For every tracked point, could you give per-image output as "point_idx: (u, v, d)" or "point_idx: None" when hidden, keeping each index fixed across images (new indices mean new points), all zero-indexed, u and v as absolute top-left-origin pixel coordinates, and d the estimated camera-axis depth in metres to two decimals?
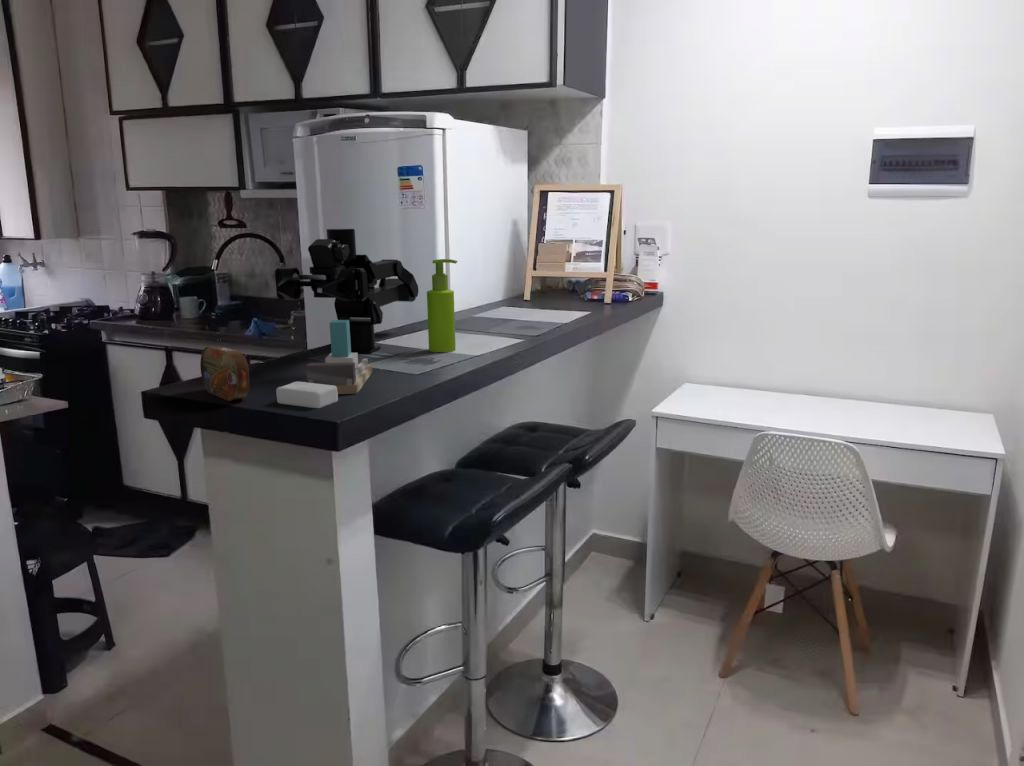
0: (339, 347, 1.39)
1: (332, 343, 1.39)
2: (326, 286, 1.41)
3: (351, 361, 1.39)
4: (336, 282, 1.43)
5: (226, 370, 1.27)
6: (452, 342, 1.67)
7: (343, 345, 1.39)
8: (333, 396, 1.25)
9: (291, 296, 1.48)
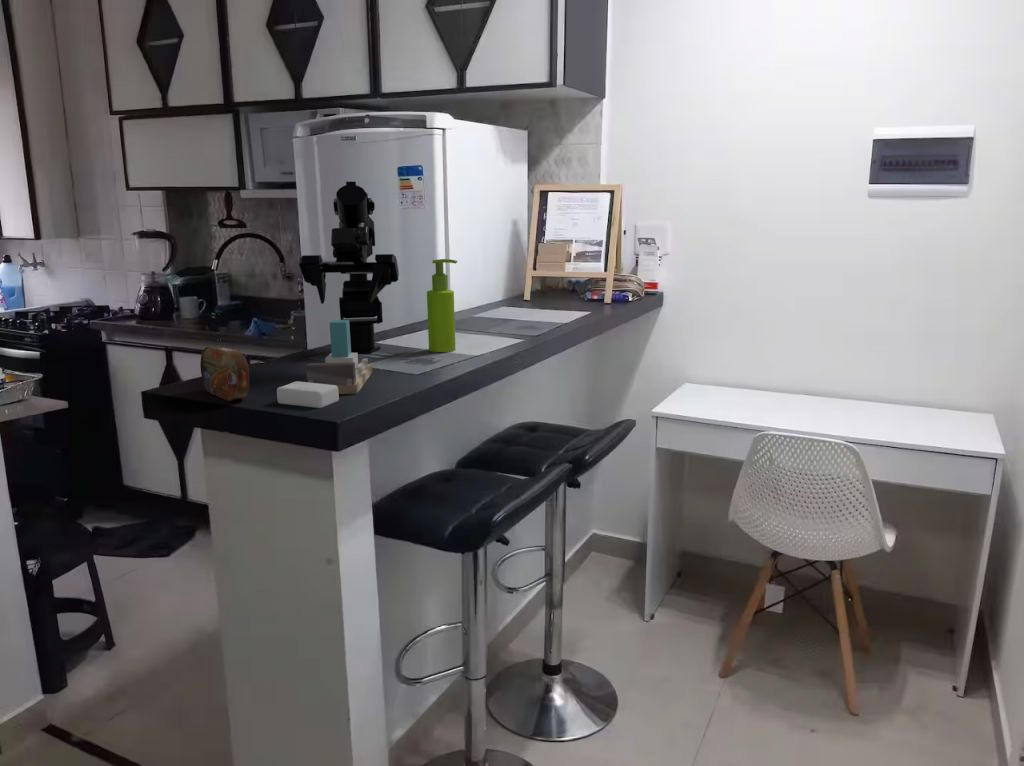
0: (339, 347, 1.39)
1: (332, 343, 1.39)
2: (371, 296, 1.46)
3: (351, 361, 1.39)
4: (376, 284, 1.47)
5: (226, 370, 1.27)
6: (452, 342, 1.67)
7: (343, 345, 1.39)
8: (334, 396, 1.26)
9: (325, 288, 1.50)
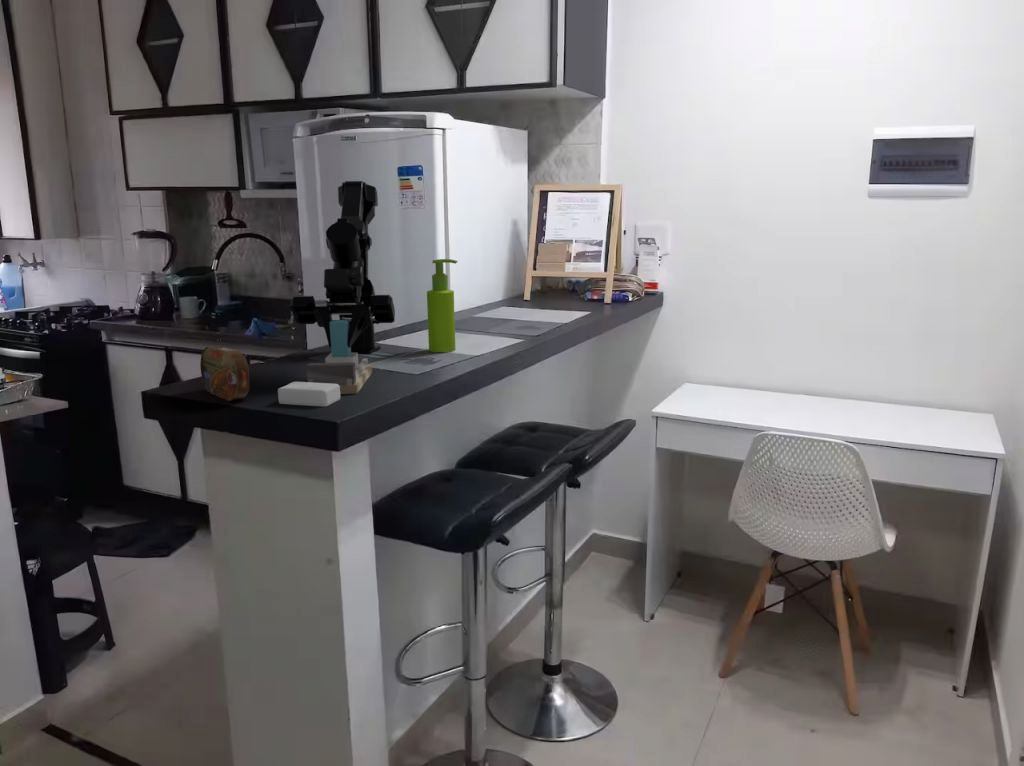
0: (339, 347, 1.39)
1: (332, 343, 1.39)
2: (350, 341, 1.39)
3: (351, 361, 1.39)
4: (355, 328, 1.40)
5: (226, 370, 1.27)
6: (452, 342, 1.67)
7: (343, 345, 1.39)
8: (337, 394, 1.26)
9: None
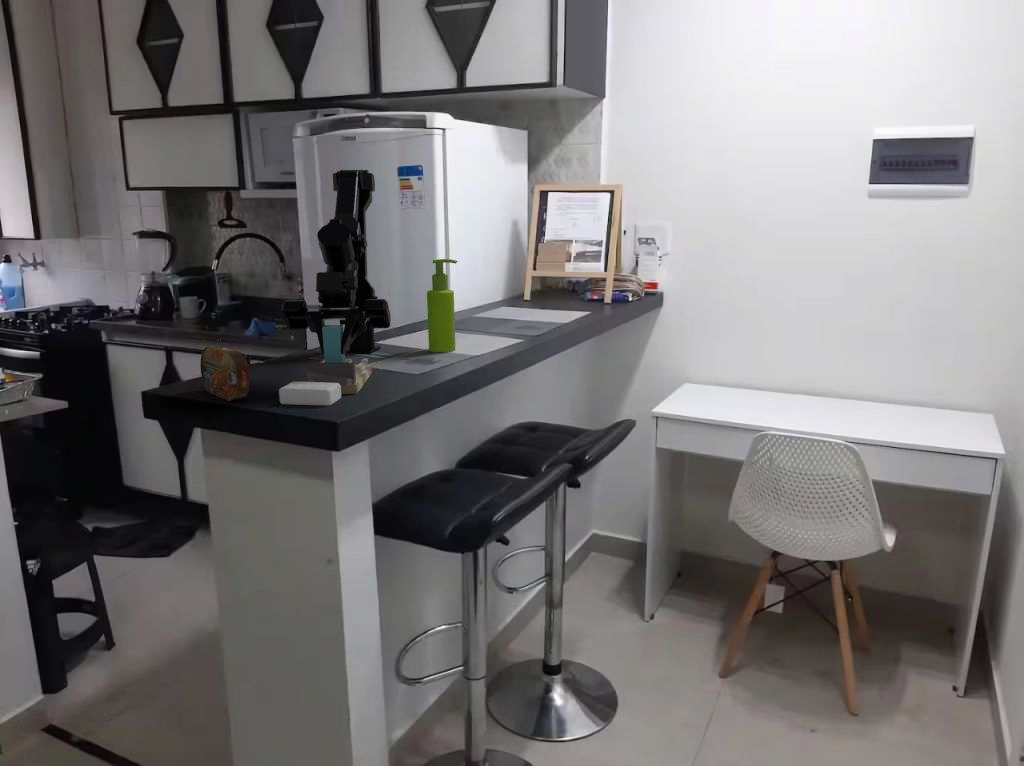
0: (332, 354, 1.33)
1: (325, 349, 1.33)
2: (344, 347, 1.33)
3: None
4: (349, 333, 1.34)
5: (226, 370, 1.27)
6: (452, 342, 1.67)
7: (337, 352, 1.33)
8: (338, 393, 1.27)
9: None
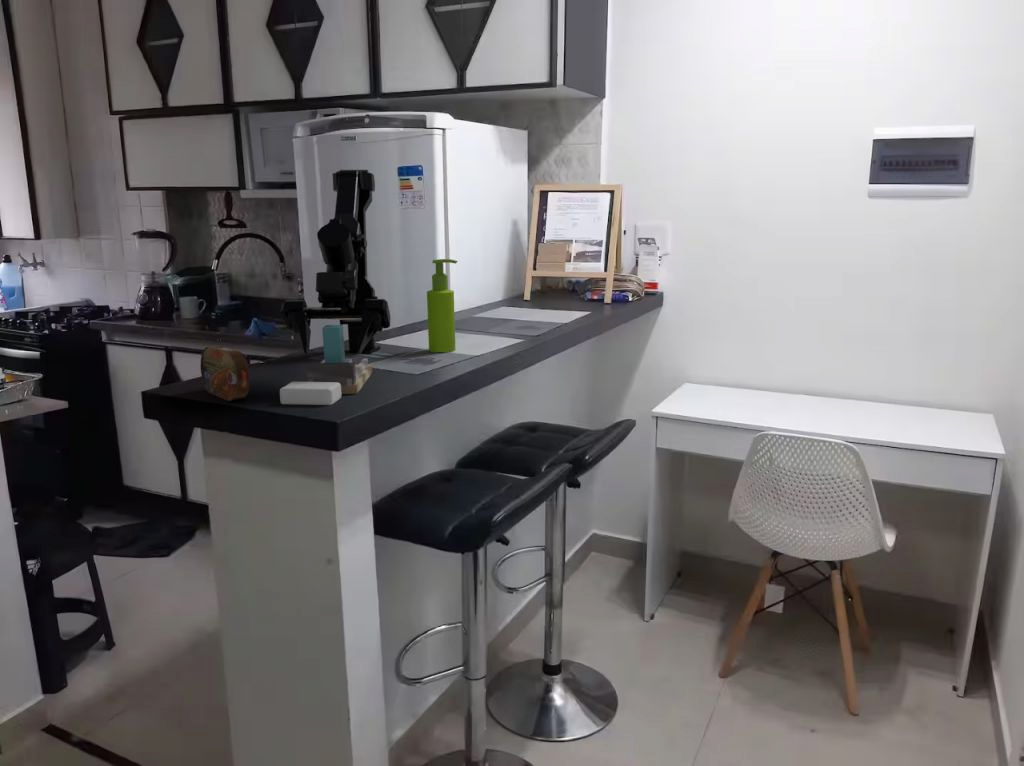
0: (332, 354, 1.33)
1: (325, 349, 1.33)
2: (360, 347, 1.33)
3: None
4: (365, 333, 1.34)
5: (226, 370, 1.27)
6: (452, 342, 1.67)
7: (337, 352, 1.33)
8: (339, 392, 1.28)
9: (310, 335, 1.37)
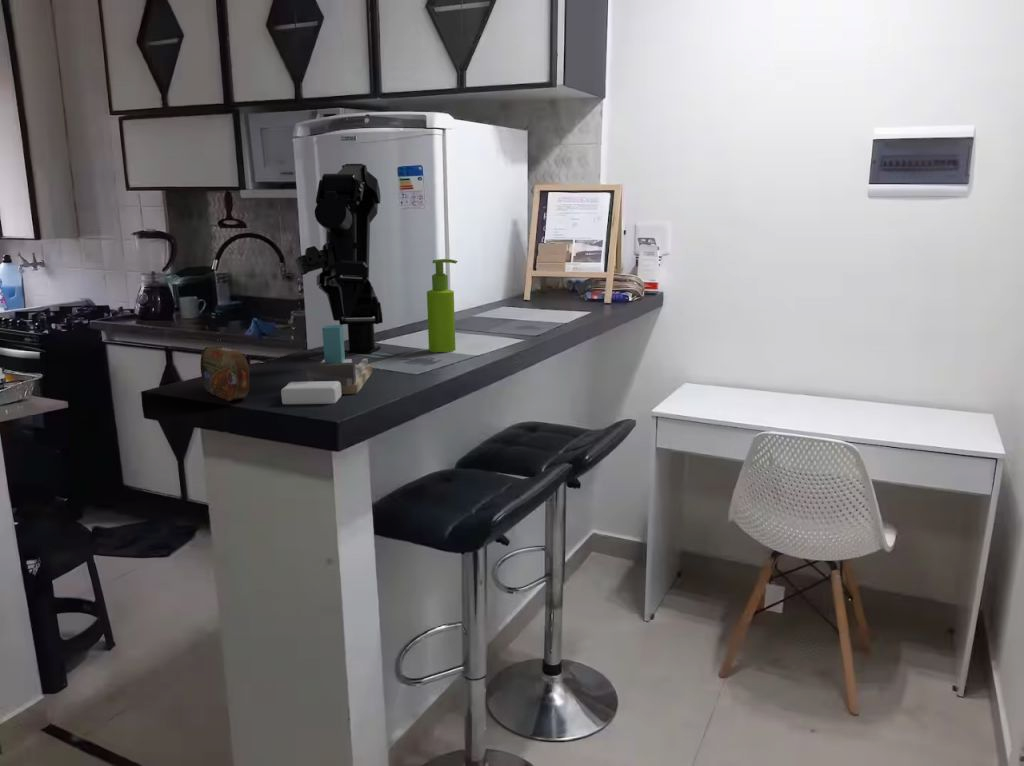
0: (332, 354, 1.33)
1: (325, 349, 1.33)
2: (345, 312, 1.43)
3: None
4: (343, 298, 1.42)
5: (226, 370, 1.27)
6: (452, 342, 1.67)
7: (337, 352, 1.33)
8: (340, 391, 1.29)
9: None
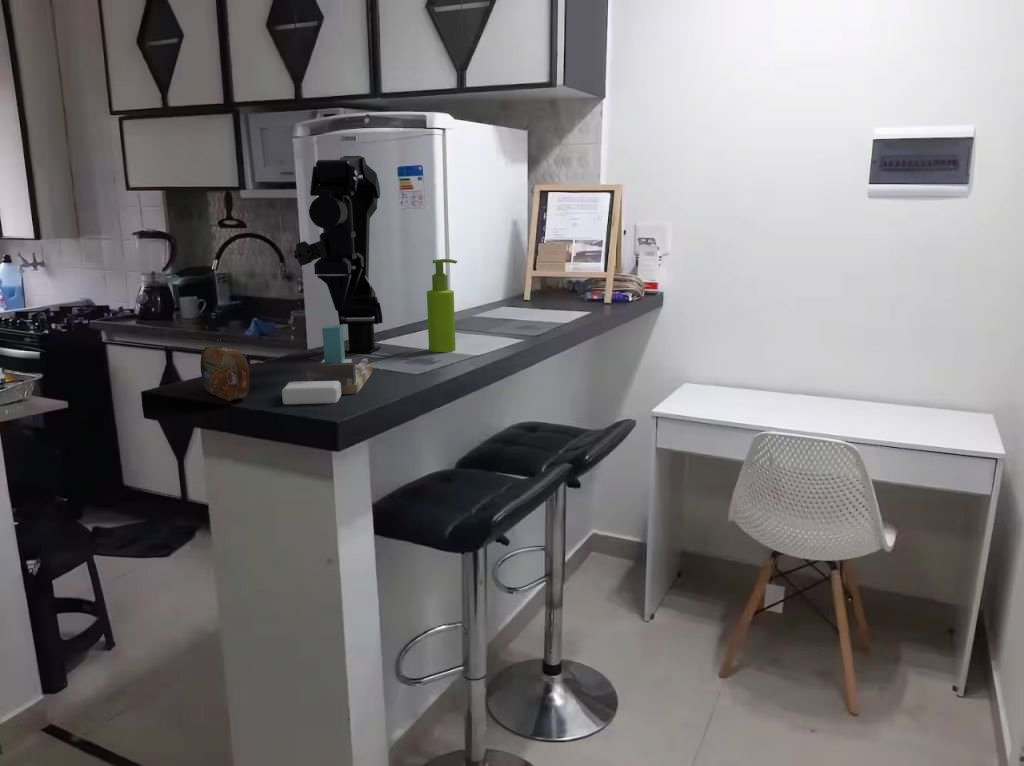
0: (332, 354, 1.33)
1: (325, 349, 1.33)
2: (335, 306, 1.45)
3: None
4: (331, 293, 1.44)
5: (226, 370, 1.27)
6: (452, 342, 1.67)
7: (337, 352, 1.33)
8: (340, 391, 1.29)
9: (356, 277, 1.54)
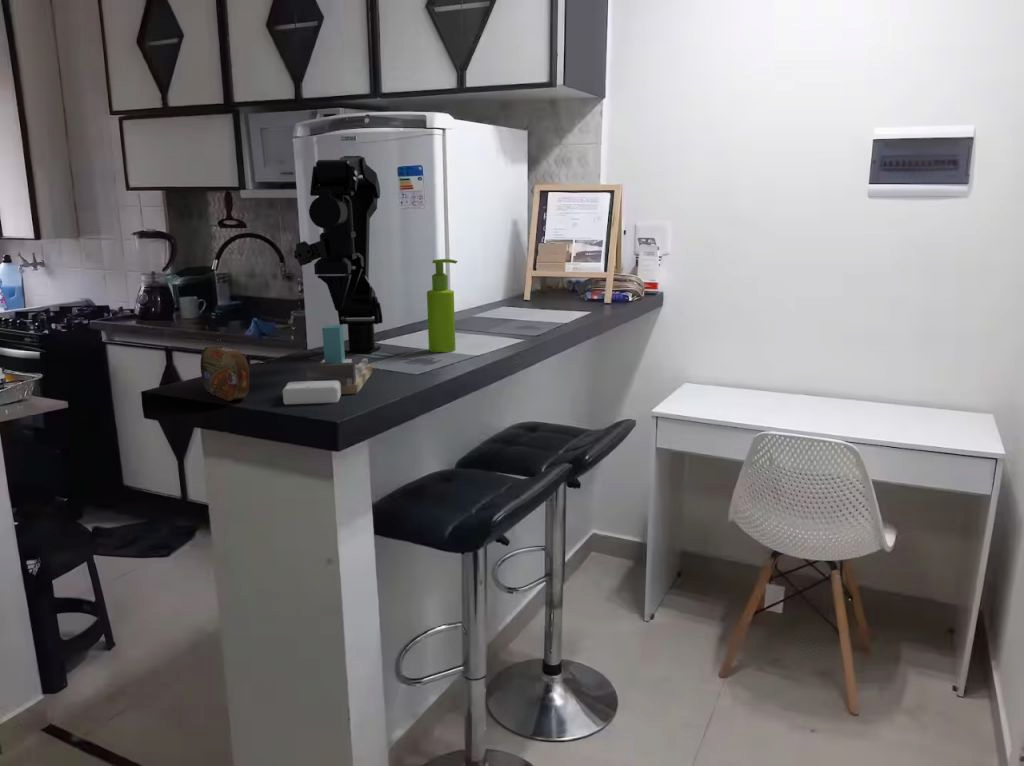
0: (332, 354, 1.33)
1: (325, 349, 1.33)
2: (335, 306, 1.45)
3: None
4: (331, 293, 1.44)
5: (226, 370, 1.27)
6: (452, 342, 1.67)
7: (337, 352, 1.33)
8: (340, 390, 1.29)
9: (356, 277, 1.54)
